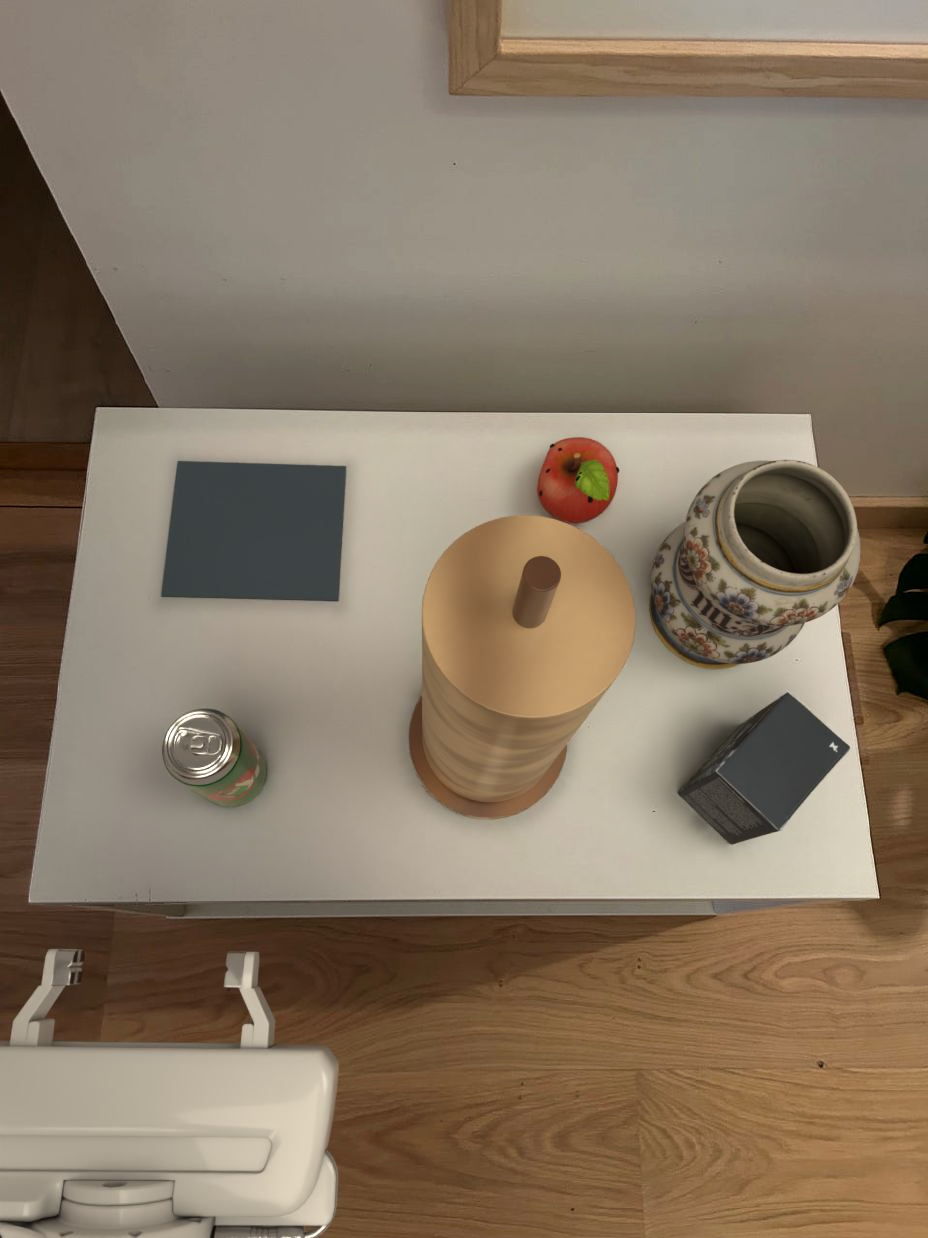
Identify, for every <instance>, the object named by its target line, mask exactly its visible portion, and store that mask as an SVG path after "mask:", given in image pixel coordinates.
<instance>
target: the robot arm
mask: <svg viewBox="0 0 928 1238" xmlns="http://www.w3.org/2000/svg"><path fill="white" fill-rule="evenodd" d="M85 956H86V955H85V950H84V949H77V948H49V949H48V950H47V952H46V955H45V957H44V963H43V970H42V978H41V984H40V985H37V987H36V988H35V990H34V991H33V992H32V994H31V996H30V997H29V998H28V999H27V1001H26V1002H25V1004H24V1005H23V1006H22V1008H21V1009H20V1011H19V1012H18V1013H17V1015H16V1016H15V1017H14V1019H13V1021H12V1027H11V1033H10V1037H9V1038H10V1039H9V1040H0V1238H318V1237H320V1236H321V1235H322V1234H324V1233H325V1232H326V1231H327V1230H328V1228H329V1227H330V1225H331V1224H332V1222H333V1220H334V1218H335V1217H336V1213H337V1208H338V1194H339V1193H338V1192H339V1191H338V1190H339V1169H338V1165H337V1163H336V1160H335V1158H334V1156H333V1155H332V1153H331V1152H330V1151H329V1149H328V1146H329V1142H330V1137H331V1132H332V1126H333V1120H334V1116H335V1109H336V1101H337V1094H338V1084H339V1074H340V1064H339V1060H338V1058H337V1056H336V1055H335V1054H334V1052H333V1050H331V1049H330V1047H329V1046H328V1045H326V1044H324V1043H275V1032H276V1019H275V1016H274V1014H273V1012H272V1010H271V1007H270V1006H269V1004H268V1001H267V1000H266V997H265V995H264V993H263V991H262V988H261V986H258V982H259V970H260V969H259V968H260V951H227V954H226V959H225V967H226V968H227V971H225V973H224V980H223V981H224V982H223V988H235V989H239V992H240V994H241V997H242V999H243V1001H244V1004H245V1006H246V1008H247V1011H248V1013H249V1015H250V1018H251V1020H250V1021H248V1022H245V1023H244V1024H243V1025H242V1027H241V1037H240V1042H166V1041H165V1042H163V1041H162V1042H160V1041H159V1042H157V1041H154V1042H153V1041H148V1042H147V1041H71V1040H69V1041H67V1040H65V1041H63V1040H61V1041H60V1040H59V1041H58V1040H56V1041H55V1040H53V1039H54V1032H55V1023H56V1020H55V1019H54V1018H50V1017H49V1018H45V1017H46V1016H47V1015H48V1013H49V1011H50V1010H51V1008H52V1007H53V1005H54V1004H55V1002H56V1001H57V999H58V998H59V996H60V995H61V993H62V992H63V990H64V988H66V986H74V985H76V986H77V985H82V980H83V972H84V970H83V969H82V966H83V964H84V963H85V958H86V957H85ZM307 1226H308V1227H309V1226H310V1227H311V1226H312V1227H313V1229H310V1230H308V1231H307V1228H306V1227H307Z"/></svg>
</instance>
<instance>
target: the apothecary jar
mask: <svg viewBox="0 0 928 1238" xmlns="http://www.w3.org/2000/svg"><path fill="white" fill-rule="evenodd" d="M856 515H857V514H856V512H855V508H854V505H853V502H852V500H851V498H850V497H849V495H848V493H847V491H846V490H845V488H844V487H843V486H842V485H841V483H839V481H838V480H836V478H834V476H833V475H831V474H830V473H828V472H827V471H826V470H824V469H823V468H820V467H818V466H816V465H814V464H811V463H810V462H809V463H808V462H805V461H802V460H796V459H778V460H777V459H776V460H753V461H747V462H742V463H738V464H736V465H733V466H730V467H728V468H726V469H723V470H722V471H720V472H719V473H717V474H715V475H714V476H713V477H711V479H709V480H708V481H707V482H706V483H705V484H704V485H703V486H702V487H701V488H700V489H699V491H698V492H697V494H696V495H695V497H694V498H693V500H692V501H691V504H690V505H689V507H688V510H687V514H686V517H685V521H683V522H682V523H681V524H679V525H677V526H676V527H675V528H674V529H672V531H671V532H670V533H669V534H668V535H667V536H666V537H665V539H664V540H663V541H662V543H661V544H660V546H659V548H658V550H657V552H656V554H655V557H654V560H653V563H652V567H651V574H650V587H651V588H650V589H651V591H650V594H649V615H650V619H651V623H652V626H653V629H654V631H655V634H656V635H657V637H658V638H659V640H660V641H661V642H662V644H663V645H664V646H665V647H666V648H667V649H668V650H669V651H670V652H671V653H672V654H673V655H675V656H676V657H677V658H679V659H680V660H682V661H684V662H686V663H688V664H690V665H692V666H695V667H697V668H702V669H709V670H724V669H730V668H733V667H737V666H739V665H742V664H751V663H756V662H760V661H763V660H766V659H768V658H771V657H773V656H775V655H776V654H778V653H780V652H781V651H783V650H784V649H785V648H786V647H788V646H789V645H790V644H791V643H792V642H793V641H794V640H795V639H796V638H797V637H798V635H799V634H800V632H801V631H802V629H803V628H804V625H805V623H808V622H811V621H814V620H816V619H818V618H821V617H823V616H824V615H826V614H828V612H830V611H832V610H833V609H834V608H835V607H837V606H838V605H839V603H840V602H842V600H844V598H845V597H846V596H847V594H848V593H849V591H850V590H851V588H852V586H853V584H854V582H855V580H856V578H857V575H858V572H859V568H860V562H861V539H860V533H859V529H858V521H857V520H858V519H857V516H856Z"/></svg>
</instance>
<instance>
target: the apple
mask: <svg viewBox="0 0 928 1238" xmlns="http://www.w3.org/2000/svg"><path fill="white" fill-rule="evenodd" d="M619 473H620V467H618V466H617V462H616V460H615V458H614V456H613V454H612V452H611V451H610V450H609V449H608V448H607V447H606V446H605V445H603V444H602V443H601V442H599V441H597V440H594V439H593V438H588V437H583V436H575V437H567V438H563V439H559V440H557V441H556V442H554V443H551V444H550V445H549V449H548V450H547V453H546V456H545V458H544V460H543V463H542V466H541V469H540V472H539V474H538V475H539V476H538V480H537V486H536V494H537V499H538V501H539V503H540V505H541V506H542V508H543V509H544V510H545V511H546V512H547V513H549V515H551V516H552V517H554V519H556V520H559V521H562V522H564V523H568V524H580V523H581V524H582V523H586V522H589V521H592V520H594V519H596V518H598V517H599V516H601V515H602V514H603V513H604V512H605V511H606V510H607V509H608V508H609V507H610V505H611V503H612V501H613V500H614V498H615V495H616V492H617V489H618V482H619Z"/></svg>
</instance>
